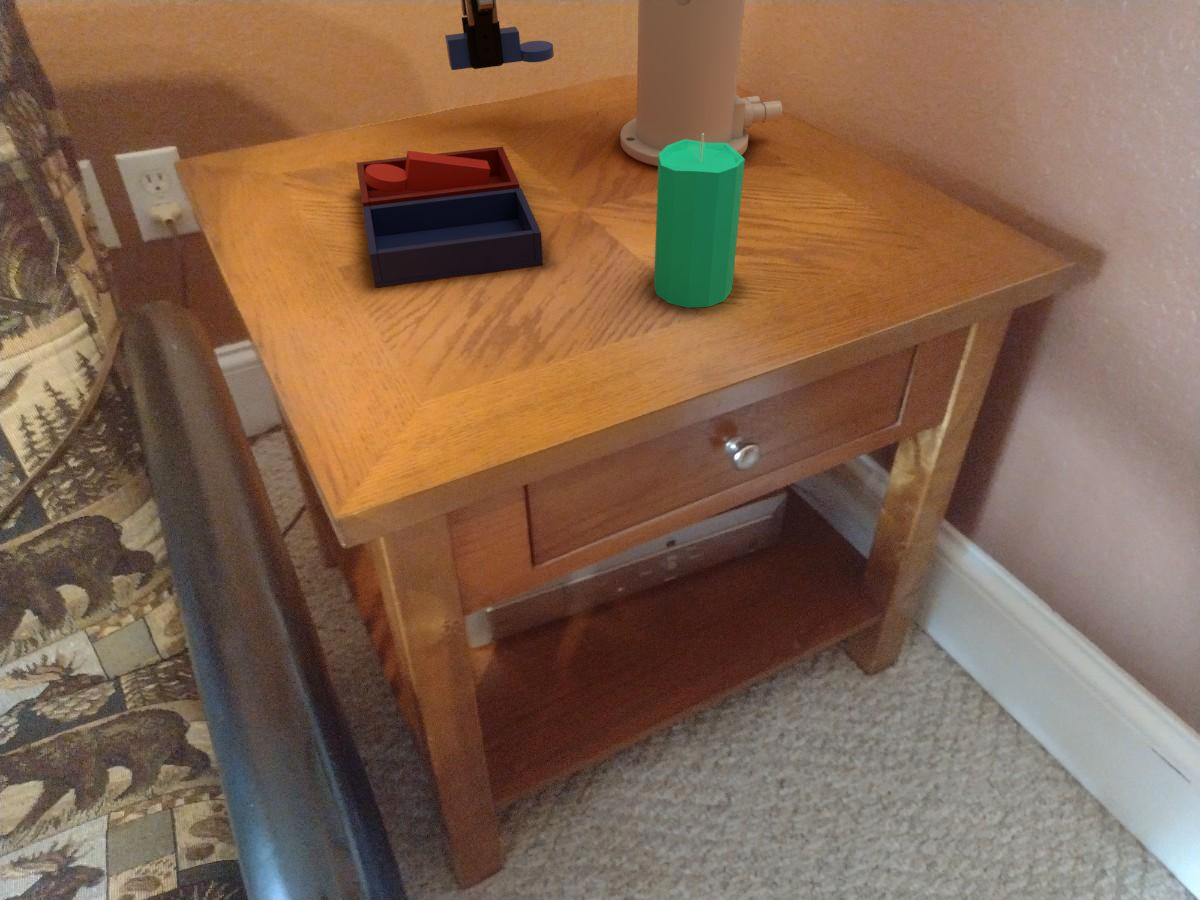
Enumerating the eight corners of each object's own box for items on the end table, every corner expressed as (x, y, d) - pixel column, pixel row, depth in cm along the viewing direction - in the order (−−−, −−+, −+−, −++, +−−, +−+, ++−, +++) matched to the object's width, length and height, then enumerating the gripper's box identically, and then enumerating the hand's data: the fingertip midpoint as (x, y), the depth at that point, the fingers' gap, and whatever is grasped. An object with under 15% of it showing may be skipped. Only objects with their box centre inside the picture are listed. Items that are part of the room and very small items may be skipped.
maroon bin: (505, 176, 85) (502, 146, 84) (521, 215, 79) (519, 183, 78) (362, 192, 83) (356, 162, 81) (367, 234, 77) (361, 202, 75)
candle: (727, 311, 67) (743, 154, 60) (647, 303, 68) (652, 147, 61) (735, 271, 72) (750, 120, 64) (660, 264, 73) (665, 114, 65)
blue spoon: (453, 73, 89) (448, 43, 87) (448, 62, 91) (443, 32, 90) (557, 59, 90) (555, 29, 89) (549, 49, 93) (547, 19, 91)
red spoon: (480, 186, 83) (485, 156, 81) (487, 203, 80) (492, 173, 79) (363, 172, 79) (365, 140, 78) (366, 189, 77) (368, 157, 75)
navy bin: (523, 219, 79) (521, 187, 77) (543, 265, 73) (541, 231, 71) (368, 238, 76) (362, 206, 75) (375, 287, 70) (369, 254, 69)
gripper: (517, -151, 73) (538, 83, 85) (486, -173, 85) (508, 35, 97) (424, -143, 72) (458, 93, 84) (406, -166, 84) (438, 44, 96)
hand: (485, 61), depth 90 cm, fingers closed on blue spoon
